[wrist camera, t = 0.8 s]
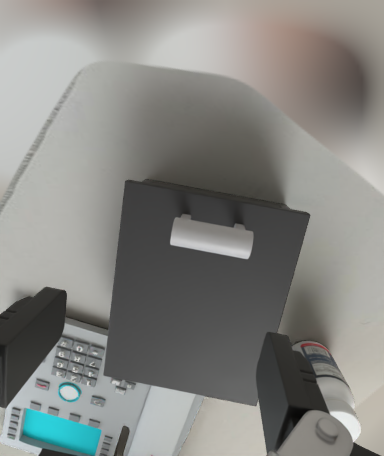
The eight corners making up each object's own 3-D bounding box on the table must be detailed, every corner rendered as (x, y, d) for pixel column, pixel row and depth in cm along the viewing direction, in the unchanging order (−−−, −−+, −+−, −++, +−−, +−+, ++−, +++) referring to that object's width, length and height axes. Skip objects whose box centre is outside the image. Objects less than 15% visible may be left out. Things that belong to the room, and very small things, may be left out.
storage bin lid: (127, 179, 24) (103, 190, 19) (307, 212, 24) (333, 232, 19) (105, 369, 29) (81, 419, 24) (255, 399, 29) (263, 457, 24)
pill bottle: (299, 387, 36) (325, 464, 28) (273, 355, 35) (291, 424, 27) (341, 364, 35) (381, 437, 27) (314, 330, 34) (347, 394, 26)
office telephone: (217, 376, 34) (165, 505, 39) (216, 360, 36) (168, 483, 42) (4, 312, 33) (-18, 451, 39) (19, 300, 36) (-4, 432, 41)
